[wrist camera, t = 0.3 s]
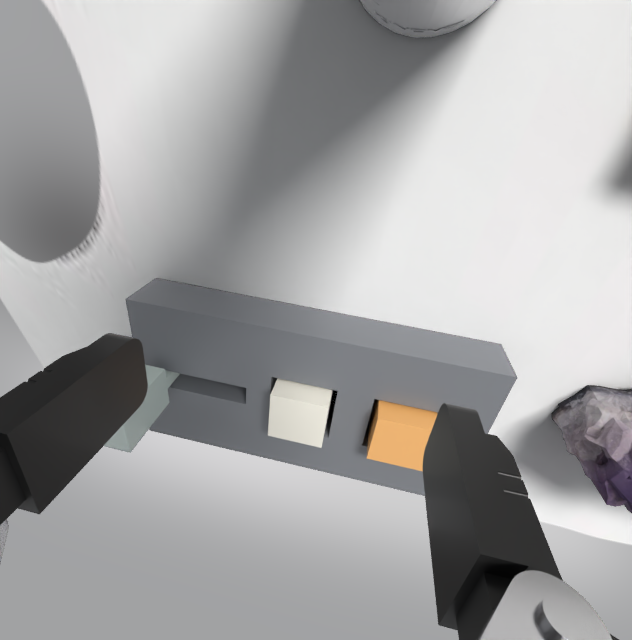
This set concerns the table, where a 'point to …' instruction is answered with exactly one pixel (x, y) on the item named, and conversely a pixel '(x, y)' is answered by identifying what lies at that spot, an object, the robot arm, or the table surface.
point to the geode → (601, 439)
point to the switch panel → (304, 374)
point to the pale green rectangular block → (145, 410)
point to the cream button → (299, 412)
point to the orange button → (399, 434)
